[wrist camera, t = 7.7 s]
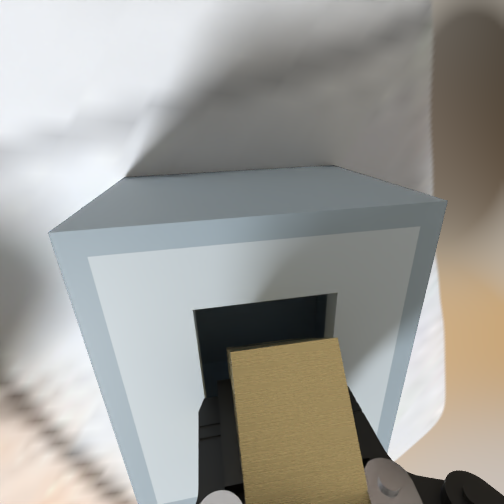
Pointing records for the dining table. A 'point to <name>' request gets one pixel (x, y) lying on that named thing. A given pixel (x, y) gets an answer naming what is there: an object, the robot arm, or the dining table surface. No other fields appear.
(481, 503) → the robot arm
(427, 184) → the dining table surface
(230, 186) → the box
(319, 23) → the dining table surface
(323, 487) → the tan wooden block
